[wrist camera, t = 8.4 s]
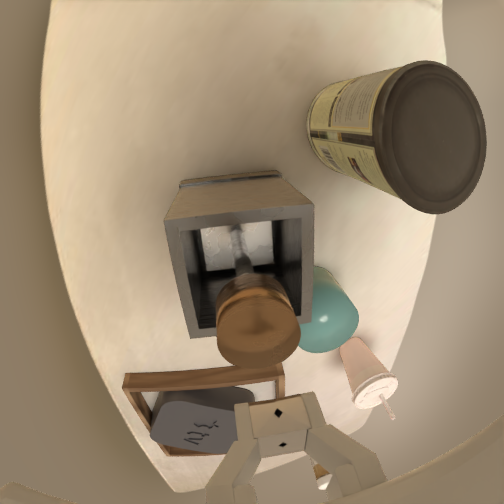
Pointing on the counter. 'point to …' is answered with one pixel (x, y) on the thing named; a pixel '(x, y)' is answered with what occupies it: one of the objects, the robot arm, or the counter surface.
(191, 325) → the square gray utensil holder
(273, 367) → the wooden square frame
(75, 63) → the counter surface
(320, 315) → the teal pillar candle
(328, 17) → the counter surface
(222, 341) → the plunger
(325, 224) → the counter surface
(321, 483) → the sprinkles bottle
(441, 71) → the coffee can
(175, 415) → the streaming box
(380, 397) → the smoothie
